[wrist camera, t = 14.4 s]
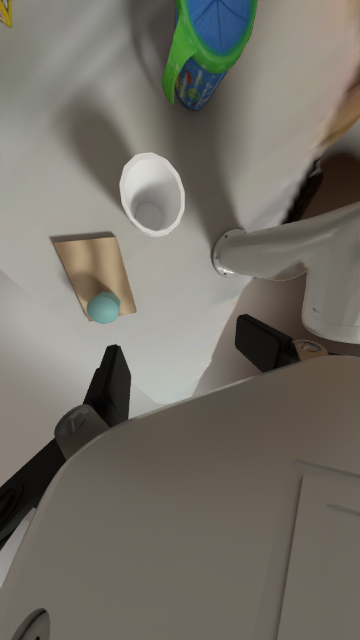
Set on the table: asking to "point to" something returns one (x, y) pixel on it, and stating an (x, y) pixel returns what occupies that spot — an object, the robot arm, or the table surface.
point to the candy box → (5, 12)
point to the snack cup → (205, 46)
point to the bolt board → (97, 271)
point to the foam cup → (152, 194)
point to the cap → (103, 307)
